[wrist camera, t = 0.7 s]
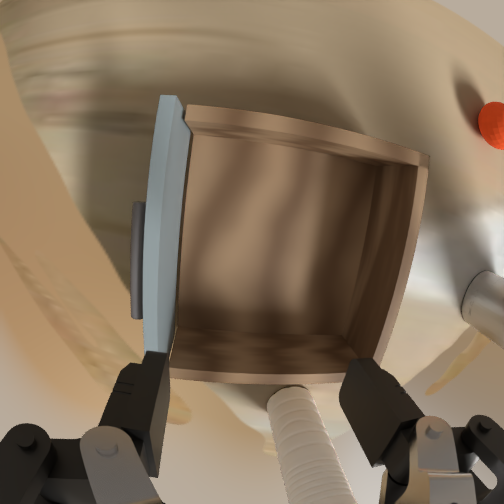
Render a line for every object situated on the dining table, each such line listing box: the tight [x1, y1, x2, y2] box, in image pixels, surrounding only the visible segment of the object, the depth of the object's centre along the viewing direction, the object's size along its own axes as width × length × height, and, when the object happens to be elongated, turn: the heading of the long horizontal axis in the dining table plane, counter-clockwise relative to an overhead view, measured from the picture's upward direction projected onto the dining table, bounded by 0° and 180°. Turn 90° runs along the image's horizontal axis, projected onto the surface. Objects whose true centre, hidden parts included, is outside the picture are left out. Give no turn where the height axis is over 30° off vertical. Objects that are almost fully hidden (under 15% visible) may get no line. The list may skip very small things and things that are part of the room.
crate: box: [169, 104, 430, 384], centre depth 27 cm, size 20×22×9 cm
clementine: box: [478, 102, 504, 150], centre depth 26 cm, size 8×7×7 cm
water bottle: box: [267, 386, 358, 504], centre depth 25 cm, size 9×6×25 cm
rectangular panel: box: [130, 95, 191, 356], centre depth 23 cm, size 2×22×10 cm, turn 173°
